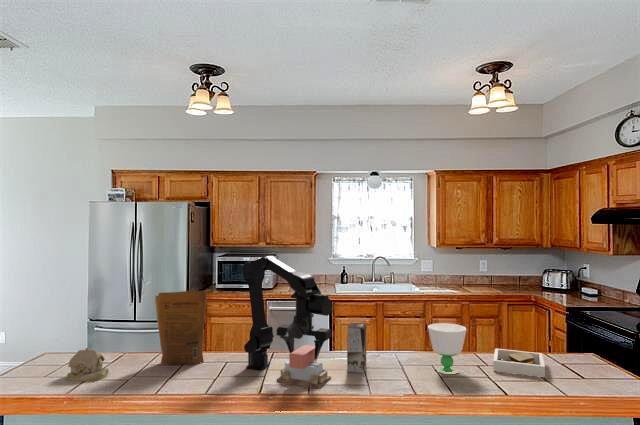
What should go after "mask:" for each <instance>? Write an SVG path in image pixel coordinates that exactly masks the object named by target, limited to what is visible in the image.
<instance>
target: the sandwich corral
mask: <svg viewBox="0 0 640 425" xmlns="http://www.w3.org/2000/svg"><path fill="white" fill-rule="evenodd" d="M519 352H526V353H529V354H531V355H532V356H534V362H535V364H526V363H518V362H509V361H500V360H498V359H503V360H507V359H510V358H509V355H510V354H515V353H519ZM492 361H493V366H492V367H493V368H492V370H493V371H498V372H497V373H500V372H507V373H506V374H508V373H515V374H514V375H516V374H524V375H531V376H530V377H532V376H538V377H537V378H540V377H545V378H546V365H545V360H544V356H543V353H542V352H532V351H523V350H514V349H504V348H494V354H493V360H492ZM493 371H492V372H493ZM524 375H523V376H524Z"/></svg>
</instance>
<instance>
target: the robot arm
mask: <svg viewBox="0 0 640 425" xmlns="http://www.w3.org/2000/svg"><path fill="white" fill-rule="evenodd" d="M268 270H269V271H271V273H274V274H275V275H277V276H278V277H280V278H281V279H283V280H285V281H286V282H287V283H288V286H289V287H290V288H291V289H292V290H293V291H294V292H293V293H292V295H290V298H291V299H295V315H294V316H293V320H292V322H291V323H290V324H285V323H284V324H282V325H279V326H277V328H276V336H279V338H280V339H282V340H283V341H284V342H285V343H286V347H287V349H288V352H289V354H290V353H292V352H293V351H295V339H297V340H301V339H302V338H303V336H310V337H314V340H313V342H314V346H315V359H317V360H318V357H319V354H320V352H321V350H322V347H323V346H324V343H325V342H326V341H328V340H329V339H331V338H332V337H333V336H332V335H333V334H332V333H333V332H332V330H331V328H323V327H320V328H319V329H316V330H315V329H314V328H315V327H314V326H315V325H313V317H315V316H314V315H319V316H327V317H328V316H329V315H330V314H331V313H332V310H333V302H332V300H331V299H330V298H329V294H322V292H321V290H320V289H319V287H318V285H317V284H316V281H315V278H314V276H313V275H311V274H308V273H305V272H300V271H296V270H295V269H293V268H291V267H290V266H288V265H287V264H285V262H282V261H280V260H279V259H277V258H276V257H275V256H274V255H264V256H261V257H260V258H258V259H255V260H252V261H246V262H244V264H243V265H242V266H241V273H242V279H243V281H244V282H245V283H246V284H247V286H248V293H249V301H250V310H251V319H252V321H251V322H252V326H251V328H250V331H249V340H248V341H247V342H246V343H245V344H244V345H243V348H244V352H245V353H248V354H247V355H248V357H247V359H248V360H247V362H248V364H247V365H246V366H245V368H246V369H251V370H257V371H261V370H262V371H263V369H265V368H266V367H268V366H269V365H270V364H269V363H268V360H269V358H268V357H269V355H268V350H269V349H271V345H272V343H273V341H274V338H275V336H274V333H273V332H274V329H273V326H272V325H271V326H269V324H268V323H267V319H266V311H265V302H264V294H263V285H262V284H263V281H264V279H265V277H266V276H265V274H266V271H268Z"/></svg>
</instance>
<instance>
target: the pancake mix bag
mask: <svg viewBox="0 0 640 425" xmlns="http://www.w3.org/2000/svg"><path fill="white" fill-rule="evenodd" d="M207 295H208V294H207V292H206V291H204V290H186V291H185V290H184V291H175V292H174V291H171V292H170V291H169V292H158V295H155V297H154V304H155V313H156V314H155V315H156V321H157V329H158V335H159V342H160V343H159V344H160V349H161V354H162V355H161V363H162V364H163V363H164V365H166V364H168V366H171V365H172V366H173V365H175V366H176V365H180V364H181V365H198V364H197V363H199V364H201V363H200V362H202V363H204V362H205V360H204V355H203V344H204V331H205V330H204V329H205V320H206V307H207Z"/></svg>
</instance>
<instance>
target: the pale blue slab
mask: <svg viewBox="0 0 640 425" xmlns="http://www.w3.org/2000/svg"><path fill="white" fill-rule="evenodd" d="M323 365H324V364H323V362H319V361H314V362H312V363H311V364H310V365H308V366H307V367H305V368H304V369H297V368H291V367H289V360H287V361H286V362H284V367H285V371H290V378H291V379H298V380H304V381H310V375H317V376H318V381H319V375H320V374H321V373H323V369H324V368H323V367H324V366H323Z"/></svg>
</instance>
